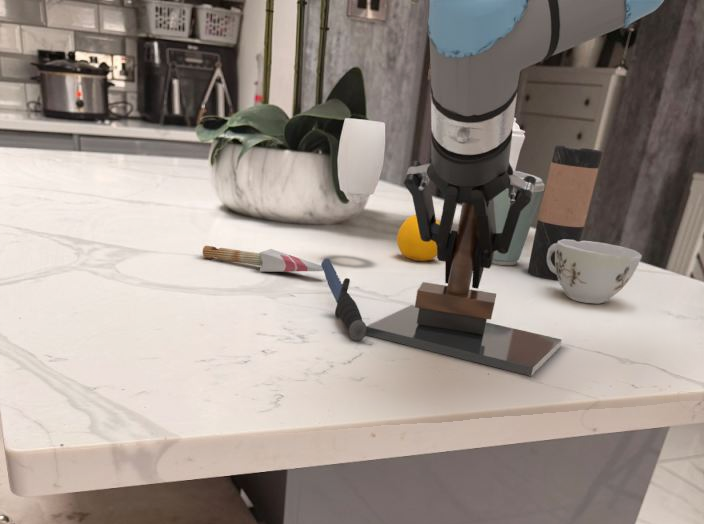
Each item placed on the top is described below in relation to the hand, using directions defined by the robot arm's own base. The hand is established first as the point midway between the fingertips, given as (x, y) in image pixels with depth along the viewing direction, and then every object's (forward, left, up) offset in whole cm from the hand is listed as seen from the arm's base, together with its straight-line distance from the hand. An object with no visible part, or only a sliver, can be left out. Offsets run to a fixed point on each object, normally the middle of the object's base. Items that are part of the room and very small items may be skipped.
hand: (464, 276), depth 93 cm
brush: (-1, +4, -5) cm, 6 cm away
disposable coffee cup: (+9, -49, -7) cm, 50 cm away
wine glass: (+27, -24, -7) cm, 37 cm away
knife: (+13, +5, -4) cm, 15 cm away
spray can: (+17, -67, -7) cm, 70 cm away
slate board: (-3, +5, -6) cm, 9 cm away
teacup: (-9, -33, -7) cm, 35 cm away
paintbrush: (+33, -7, -7) cm, 35 cm away
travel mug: (-1, -46, -7) cm, 47 cm away
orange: (+20, -37, -7) cm, 43 cm away
